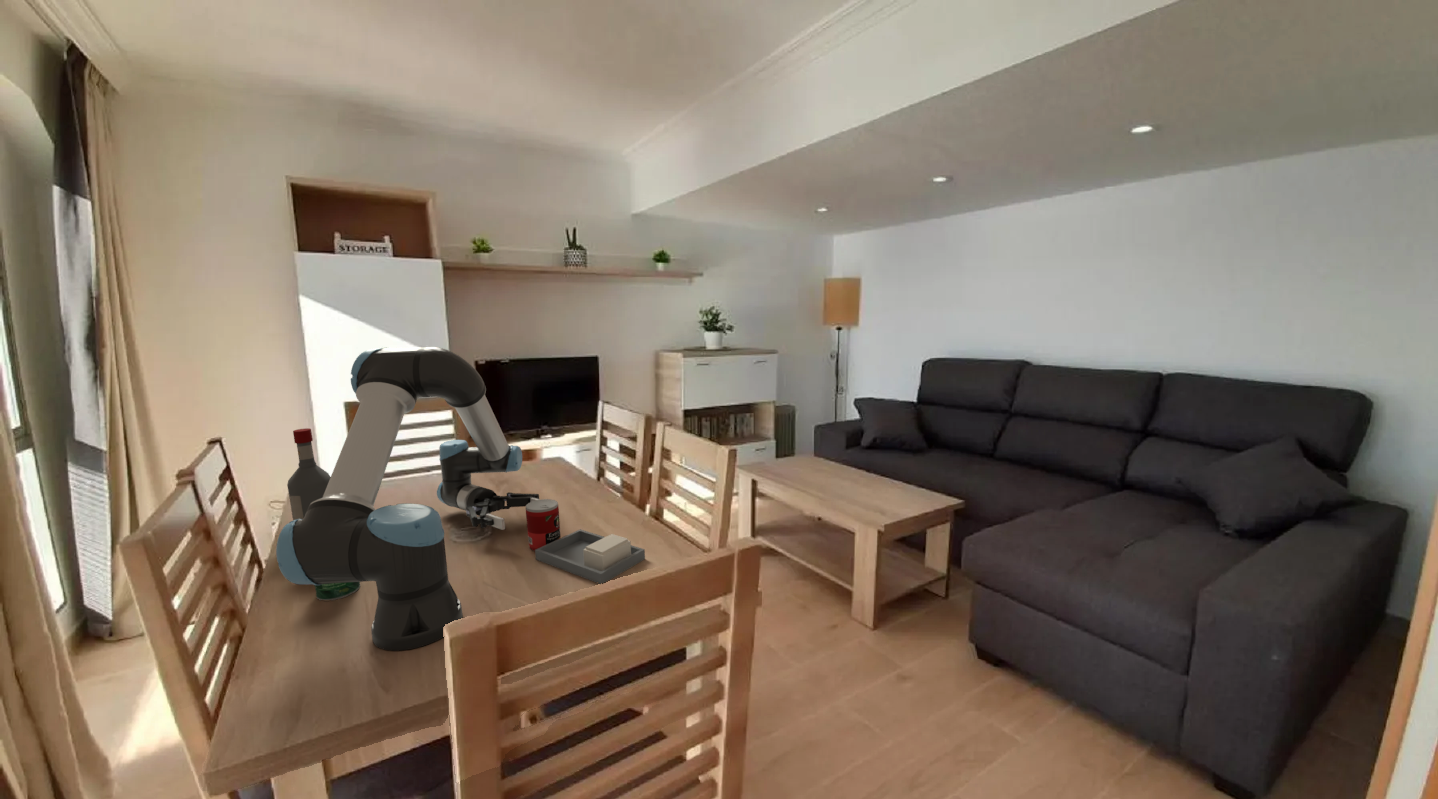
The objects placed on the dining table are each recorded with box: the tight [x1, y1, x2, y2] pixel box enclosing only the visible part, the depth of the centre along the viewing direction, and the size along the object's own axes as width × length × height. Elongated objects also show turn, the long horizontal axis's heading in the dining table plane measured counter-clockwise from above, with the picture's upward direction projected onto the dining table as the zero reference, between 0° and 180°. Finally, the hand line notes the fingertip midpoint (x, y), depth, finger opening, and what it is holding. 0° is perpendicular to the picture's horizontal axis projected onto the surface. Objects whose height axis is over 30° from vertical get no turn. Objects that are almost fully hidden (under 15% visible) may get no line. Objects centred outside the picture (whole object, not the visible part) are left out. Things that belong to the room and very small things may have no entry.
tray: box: [534, 529, 646, 585], centre depth 129 cm, size 22×14×3 cm, turn 56°
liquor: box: [286, 427, 331, 521], centre depth 141 cm, size 9×9×30 cm
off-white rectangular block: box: [583, 533, 632, 571], centre depth 126 cm, size 6×9×6 cm, turn 146°
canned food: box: [525, 498, 562, 552], centre depth 138 cm, size 8×8×11 cm
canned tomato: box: [314, 582, 361, 601], centre depth 117 cm, size 8×8×11 cm
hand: (526, 515), depth 142 cm, fingers open, 13 cm apart
